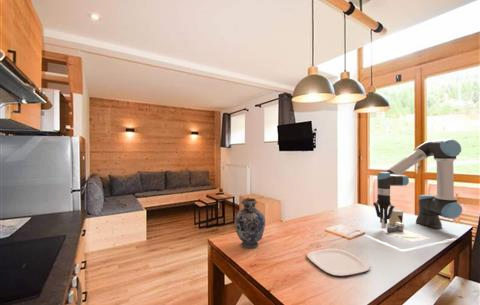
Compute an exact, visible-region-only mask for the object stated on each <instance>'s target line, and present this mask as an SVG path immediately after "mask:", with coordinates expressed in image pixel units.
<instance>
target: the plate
mask: <svg viewBox="0 0 480 305" xmlns="http://www.w3.org/2000/svg"><path fill="white" fill-rule="evenodd" d="M306 257H307V259H308V260H309V261H310V262H312V263H313V264H314V265H315V266H316V267H318V268H319V269H320V270H322V271H323V272H324V273H327V274H329V275H332V276H335V277H336V276H337V277H344V276H345V277H346V276H347V277H348V276H352V275H359V274H362V273H365V272H368V271H369V270H370V269H371V267H370V266H369V264H367V263H366V262H365V261H364V260H362V259H360V258H359V257H357V256H356V255H354V254H352V253H350V252H348V251H346V250H344V249H340V248H324V249H319V250H313V251H310V252H308V253H307V254H306Z"/></svg>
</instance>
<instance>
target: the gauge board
mask: <svg viewBox="0 0 480 305" xmlns="http://www.w3.org/2000/svg"><path fill="white" fill-rule="evenodd" d="M379 231H380V232H384V233H385V234H389V235H391V236H395V237H397V238H401V239H403V240H405V241H407V242H411V243H417V242H421V241H425V240H430V239H431V237H429V236H425V235H422V234H419V233H416V232H412V231H409V230H406V229H404V228H403V232H399V231H397V232H391V233H388V232H387V228H385V229H383V228H381V229H379Z"/></svg>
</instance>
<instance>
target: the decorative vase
mask: <svg viewBox="0 0 480 305" xmlns="http://www.w3.org/2000/svg"><path fill="white" fill-rule="evenodd" d="M241 204H242V205H243V208H242V209H240V210H238V211H237V212H236V214H235V217H234V228H235V232H236V235H237V236H238V238H239V239H240V241H241V245H242V246H241V245H240V246H241V247H244V248H243V249H246V248H248V249H247V250H252V249H253V248H254V249H257V248H258V247H259V245H260V244H259V241H260V240H262V238H263V235H264V231H265V228H266V219H265V218H266V216H265V215H264V213H263V212H262V211H261V210H259V209H257V208H256V204H258V201H257V199H256V198H251V197H250V198H249V196H248V197H247V198H244V199H242V201H241Z"/></svg>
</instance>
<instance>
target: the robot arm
mask: <svg viewBox="0 0 480 305" xmlns="http://www.w3.org/2000/svg"><path fill="white" fill-rule="evenodd" d="M461 152H462V146H461V144H460V143H459V142H458V141H457V140H456V139H450V138H444V139H443V138H442V139H430V140H428V141H425V142H424V143H422V144H420V145H418V146H416V148H414V149H413V152H411V153H410V154H408V155H406V157H404V158H402V159H401V160H400V161H399V162H397V163H395V164H394V165H393V166H391V167H390V168H389V169H387V170H386V171H379V172H378V173H377V174H376V175H377V177H376V178H377V185H376V186H377V192H376V193H377V197H376V198H377V201H376V202H373V206H374V208H375V212H376V216H377V217H378V218H380V219H379V220H380V221H379V222H380V223H381V229H387V224H388V220H389V219H390V218H391V214H392V211H393V209H395V208H396V206H395V205H392V202H391V187H393V186H394V187H395V186H396V187H402V186H408V185H409V183H410V179H409V176H408V175H406V174H403V173H405V172H406V171H407V170H409V169H410V168H412V167H413V166H414V165H416V164H418V163H419V162H420V161H421V160H426V159H427V158H429V157H433V160H435V161H436V194H435V195H434V194H431V195H430V194H420V195H419V196H418V215H417V217H416V219H415V224H416V225H418V226H422V227H425V228H428V229H434V230H437V229H439V230H440V229H442V228H443V225H442V222H441V219H440V216H441V217H442V218H445V219H451V220H452V219H456V218H459V216H461V214H462V212H463V207H462V205H461V204H459V203H458V198H457V197H456V196H455V190H454V189H455V186H454V184H455V182H454V178H455V177H454V175H455V174H454V161H455V160H457V157H458V156H460V154H461ZM388 210H389V211H388Z"/></svg>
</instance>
